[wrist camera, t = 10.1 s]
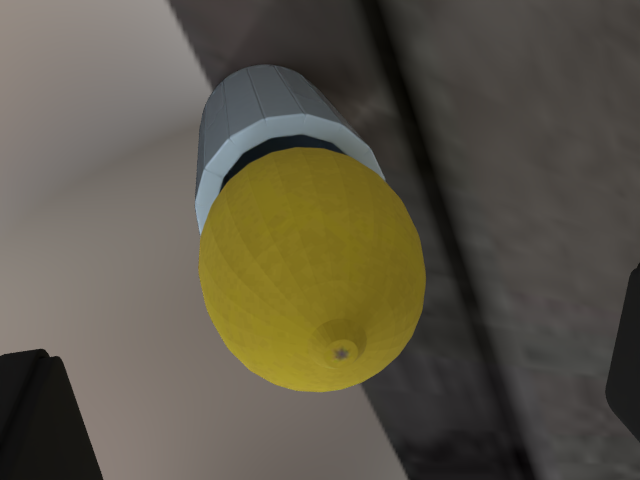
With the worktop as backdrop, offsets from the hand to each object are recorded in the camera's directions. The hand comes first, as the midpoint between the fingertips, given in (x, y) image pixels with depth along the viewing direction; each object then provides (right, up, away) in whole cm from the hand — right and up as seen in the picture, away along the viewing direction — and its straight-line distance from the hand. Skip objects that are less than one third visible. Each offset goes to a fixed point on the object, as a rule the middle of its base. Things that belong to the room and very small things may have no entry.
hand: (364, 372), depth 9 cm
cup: (-3, +7, +15) cm, 17 cm away
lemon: (-2, +3, +9) cm, 10 cm away
